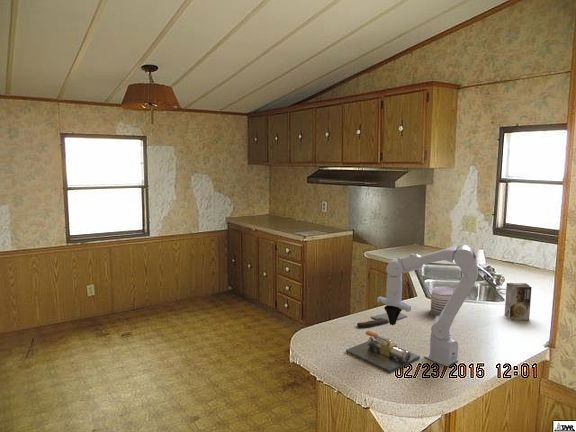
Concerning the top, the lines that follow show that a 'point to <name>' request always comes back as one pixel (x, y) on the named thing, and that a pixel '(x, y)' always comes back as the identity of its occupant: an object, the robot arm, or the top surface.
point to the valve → (383, 354)
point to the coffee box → (518, 301)
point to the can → (440, 299)
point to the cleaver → (379, 320)
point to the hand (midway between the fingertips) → (392, 324)
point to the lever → (378, 336)
